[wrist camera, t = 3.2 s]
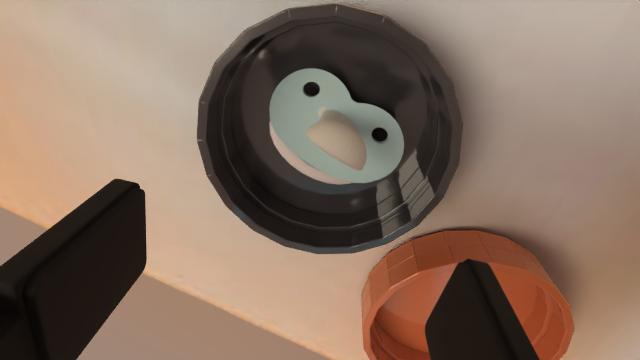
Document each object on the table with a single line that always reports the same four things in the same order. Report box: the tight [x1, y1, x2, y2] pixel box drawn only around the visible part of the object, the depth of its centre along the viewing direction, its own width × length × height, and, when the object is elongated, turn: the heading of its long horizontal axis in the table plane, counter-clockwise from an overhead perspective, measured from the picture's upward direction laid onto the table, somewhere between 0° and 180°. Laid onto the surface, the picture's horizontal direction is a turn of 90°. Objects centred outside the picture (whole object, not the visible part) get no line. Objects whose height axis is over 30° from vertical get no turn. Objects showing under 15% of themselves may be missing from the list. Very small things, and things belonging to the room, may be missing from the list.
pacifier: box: [269, 68, 404, 185], centre depth 17 cm, size 7×6×6 cm
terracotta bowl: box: [362, 230, 574, 360], centre depth 24 cm, size 13×13×4 cm
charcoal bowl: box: [197, 3, 463, 254], centre depth 19 cm, size 13×13×4 cm
